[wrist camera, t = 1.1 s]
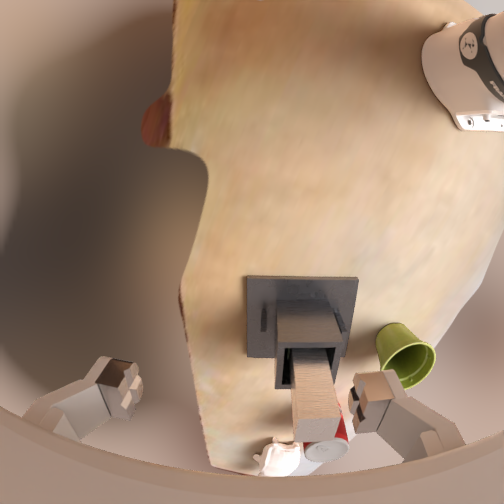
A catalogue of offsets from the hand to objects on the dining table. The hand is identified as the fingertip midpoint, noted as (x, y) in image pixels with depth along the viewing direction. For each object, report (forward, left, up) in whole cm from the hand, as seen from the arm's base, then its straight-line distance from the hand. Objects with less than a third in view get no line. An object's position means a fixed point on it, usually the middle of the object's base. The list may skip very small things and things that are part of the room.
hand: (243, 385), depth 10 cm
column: (-6, +16, -30) cm, 35 cm away
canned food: (-12, +37, -32) cm, 50 cm away
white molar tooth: (-4, +54, -32) cm, 63 cm away
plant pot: (-22, +20, -32) cm, 44 cm away
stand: (-6, +16, -31) cm, 36 cm away
